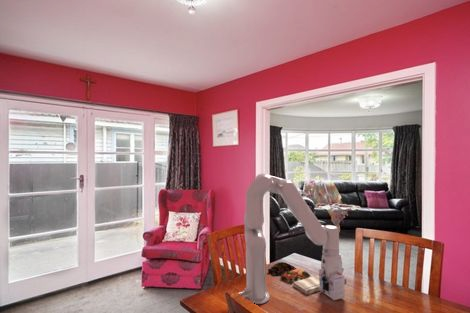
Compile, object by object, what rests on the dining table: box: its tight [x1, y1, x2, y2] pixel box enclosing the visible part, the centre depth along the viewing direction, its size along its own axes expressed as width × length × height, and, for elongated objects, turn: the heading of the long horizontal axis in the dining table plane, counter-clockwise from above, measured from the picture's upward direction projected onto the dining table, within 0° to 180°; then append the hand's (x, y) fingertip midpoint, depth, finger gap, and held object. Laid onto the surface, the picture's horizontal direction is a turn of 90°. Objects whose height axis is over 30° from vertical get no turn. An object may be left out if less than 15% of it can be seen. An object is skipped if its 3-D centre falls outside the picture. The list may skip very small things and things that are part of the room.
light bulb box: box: [318, 268, 346, 301], centre depth 125 cm, size 11×7×11 cm, turn 20°
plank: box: [292, 274, 347, 295], centre depth 137 cm, size 28×10×2 cm, turn 117°
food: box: [267, 261, 311, 284], centre depth 150 cm, size 22×19×4 cm
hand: (331, 287), depth 125 cm, fingers closed on light bulb box, 7 cm apart
